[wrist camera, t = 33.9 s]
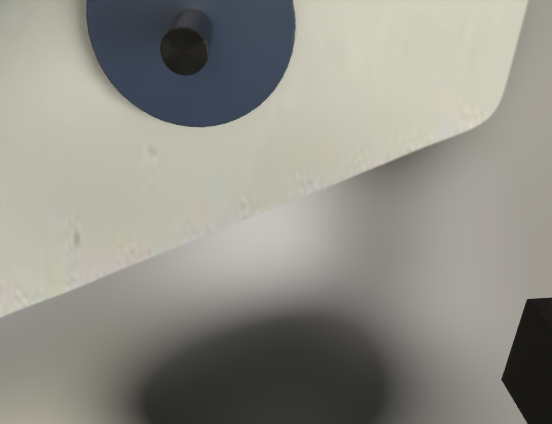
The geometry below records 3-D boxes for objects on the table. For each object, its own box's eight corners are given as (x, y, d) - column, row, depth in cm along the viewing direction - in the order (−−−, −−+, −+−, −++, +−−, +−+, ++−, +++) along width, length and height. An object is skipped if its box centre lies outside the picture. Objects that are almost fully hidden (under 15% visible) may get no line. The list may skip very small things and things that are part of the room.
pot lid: (110, 125, 42) (81, 171, 34) (69, -91, 34) (20, -96, 26) (293, 119, 43) (306, 162, 35) (294, -93, 35) (312, -99, 27)
